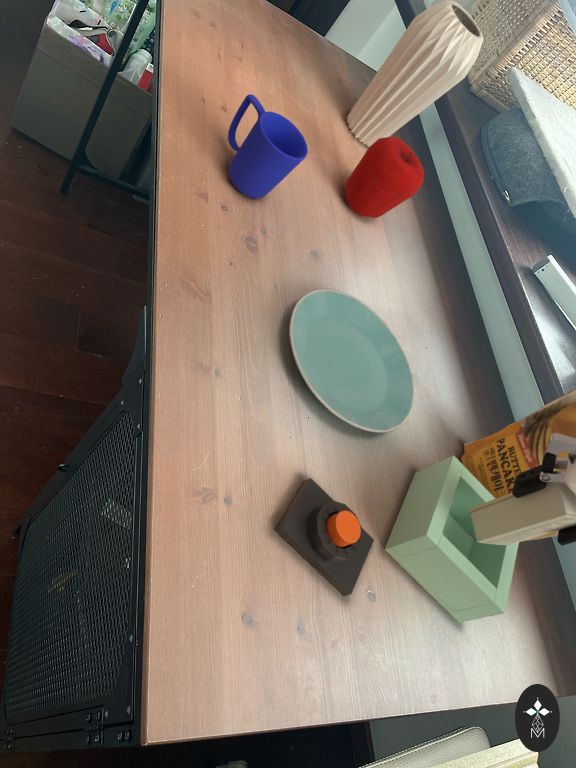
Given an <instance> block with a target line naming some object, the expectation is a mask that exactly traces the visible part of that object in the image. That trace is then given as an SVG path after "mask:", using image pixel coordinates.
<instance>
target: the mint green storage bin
mask: <svg viewBox="0 0 576 768" xmlns="http://www.w3.org/2000/svg"><path fill="white" fill-rule="evenodd" d="M494 499H495V498H494V497H493V496H492V495H491V494H490V493H489V492H488V490H487V489H486V488H485V487H484V486H483V485H482V484H481V483H480V482H479V481H478V480H477V479H476V478H475V477H474V476H473V475H472V474H471V473H470V472H469V471H468V470H467V469H466V468H465V467H464V466H463V464H462V463H461V460H459V459H458V458H457V457H456V456H455V455H451V456H449V457H447V458H445V459H442V460H441V461H438V462H436V463H434V464H432V465H430V466H427V467H425V468H423V469H421V470H418V471H416V472H415V473H414V475H413V477H412V480H411V482H410V485H409V487H408V489H407V492H406V494H405V497H404V500H403V502H402V504H401V507H400V509H399V512H398V515H397V517H396V520H395V522H394V525H393V527H392V530H391V533H390V535H389V537H388V540H387V542H386V545H385V547H384V551H385V552H386V554H388V555H389V556H390V557H391V558H392V559H393V560H394V561H395V562H396V563H397V564H398V565H399V566H400V567H401V568H402V569H403V570H404V571H405V572H407V574H408V575H409V576H411V578H412V579H414V581H416V582H417V583H418V584H419V586H420V587H422V588H423V589H424V590H425V591H426V592H427V593H428V594H429V595H430V596H431V597H432V598H433V599H434V600H435V601H436V602H437V603H438V604H439V606H441V607H442V608H443V609H444V610H445V611H446V612H447V613H448V614H449V615H451V617H453V619H454V620H455V621H456V622H457V623H459V624H461V623H467V622H471V621H474V620H479V619H485V618H488V617H494V616H499V615H503V614H506V609H507V604H508V599H509V594H510V590H511V585H512V580H513V575H514V569H515V564H516V559H517V555H518V551H519V550H518V549H519V544H520V542H518V543H514V544H511V545H496V544H485V543H478V542H477V540H476V535H475V531H474V527H473V522H472V518H471V514H470V508H472V507H475V506H477V505H480V504H483V503H485V502H488V501H491V500H494Z"/></svg>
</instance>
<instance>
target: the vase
mask: <svg viewBox="0 0 576 768" xmlns="http://www.w3.org/2000/svg"><path fill="white" fill-rule="evenodd" d="M483 35H484V34H483V32H482V31H481V28H480V27H479V26H478V24H477V22H476V20H474V19H473V16H472V15H470V14H469V12H468V11H467V9H465V8H464V7H463V6H462V4H459V3H458V2H457V1H456V0H443V1H440V2H438V3H436V4H433V5H431V6H430V7H427V8H426V9H425V10H423V11H422V12H420V13H419V14H418V15H415V17H414V18H413V19H412V21H411V22H410V24H409V25H408V27H407V28H406V29H405V30H404V32H403V34H401V37H400V38H399V40H398V41H397V43H396V44H395V46H394V47H393V48H392V50H391V52H390V53H389V54H388V55H387V57H386V59H385V60H384V61H383V63H382V64H381V66H380V68H379V69H378V70H377V72H376V73H375V75H374V76H373V77H372V79H371V80H370V82H369V84H368V85H367V87H366V88H365V90H364V91H363V92H362V94H361V95H360V97H359V98H358V100H357V101H356V103H355V104H354V106H353V107H352V109H351V110H350V112H349V113H348V115H347V116H346V120H347V121H346V123H347V125H348V126H347V128H349V130H350V133H352V134H353V135H354V137H355V138H356V139H358V141H359V143H361V142H362V144H363V145H364V146H367V147H368V148H369V147H370V146H371V145H372V144H373V143H375V142H376V141H377V140H378V139H379V138H386V137H391V136H392V135H393V134H395V133H396V132H397V131H398V130H400V129H401V128H403V126H405V125H406V124H407V123H409V122H410V121H411V120H413V119H414V118H415V117H417V116H418V115H419V114H420V113H421V112H423V111H424V110H426V108H429V106H430V105H432V104H433V103H435V102H436V101H437V100H438V99H440V98H441V97H442V96H443V95H445V94H446V93H447V92H448V91H450V90H451V89H453V88H454V87H455V86H456V85H458V84H459V83H460V82H462V81H463V80H464V79H465V78H466V76H467V75H468V73H469V72H470V71H471V69H472V67H473V66H474V65H475V63H476V61H477V60H478V57H479V54H480V53H481V48H482V46H483V43H484V39H485V38H484V36H483Z"/></svg>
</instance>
